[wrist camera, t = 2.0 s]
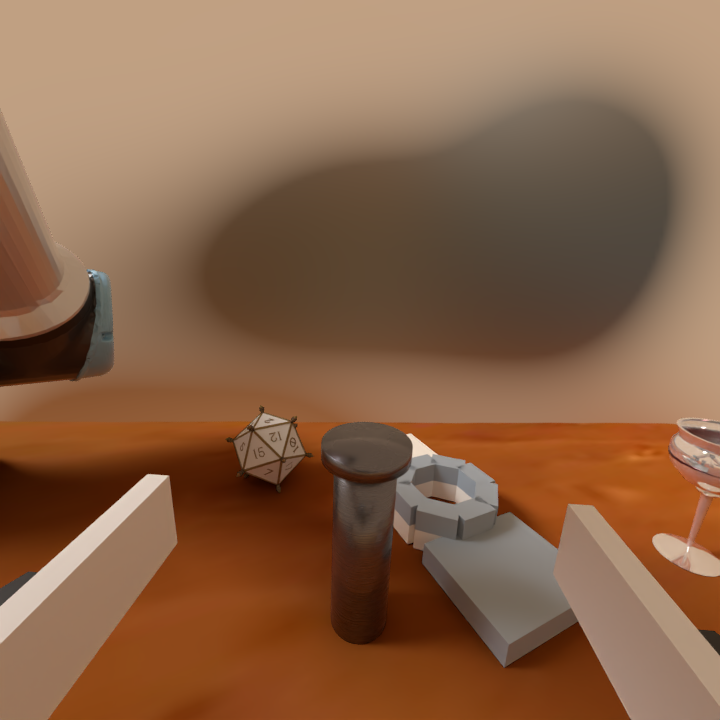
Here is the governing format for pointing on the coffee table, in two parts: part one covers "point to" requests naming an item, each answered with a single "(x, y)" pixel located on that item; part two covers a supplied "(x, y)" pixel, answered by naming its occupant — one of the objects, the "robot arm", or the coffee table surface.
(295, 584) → the coffee table surface
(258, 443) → the game die
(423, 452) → the hinge leaf
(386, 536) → the pin
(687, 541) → the wineglass
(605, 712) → the coffee table surface
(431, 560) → the hinge leaf
